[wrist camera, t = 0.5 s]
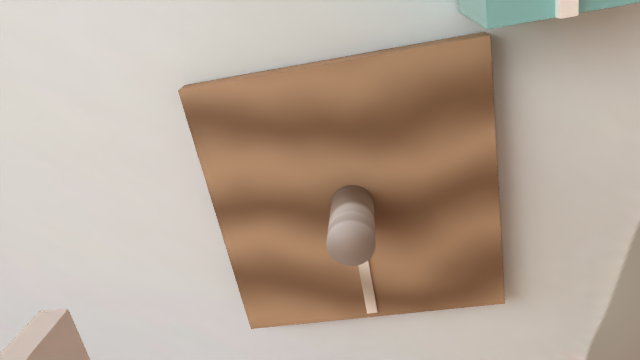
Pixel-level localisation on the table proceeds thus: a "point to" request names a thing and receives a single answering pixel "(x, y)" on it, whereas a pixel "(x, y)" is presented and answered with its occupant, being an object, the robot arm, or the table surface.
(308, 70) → the wooden peg board
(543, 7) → the teal rectangular block
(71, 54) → the table surface
